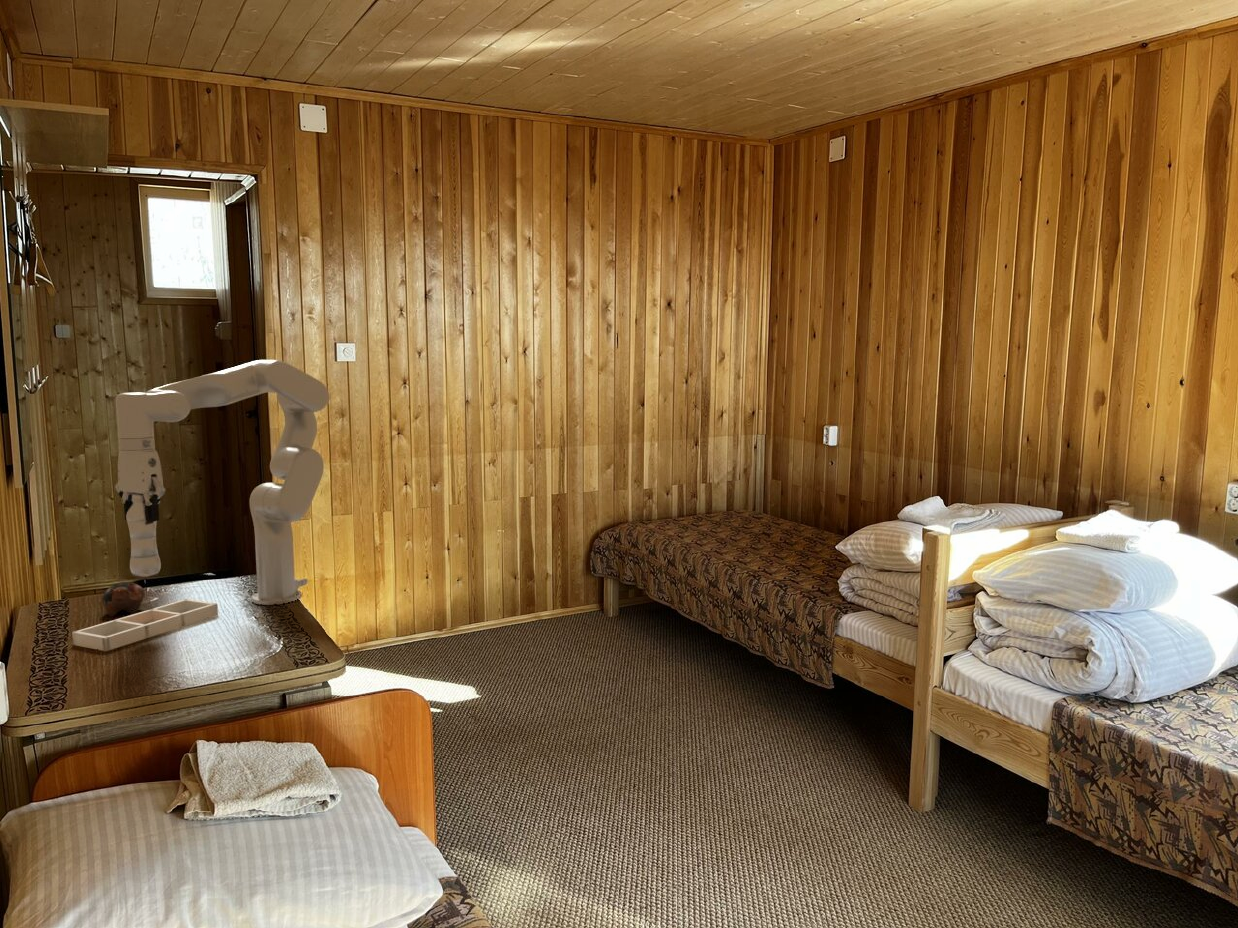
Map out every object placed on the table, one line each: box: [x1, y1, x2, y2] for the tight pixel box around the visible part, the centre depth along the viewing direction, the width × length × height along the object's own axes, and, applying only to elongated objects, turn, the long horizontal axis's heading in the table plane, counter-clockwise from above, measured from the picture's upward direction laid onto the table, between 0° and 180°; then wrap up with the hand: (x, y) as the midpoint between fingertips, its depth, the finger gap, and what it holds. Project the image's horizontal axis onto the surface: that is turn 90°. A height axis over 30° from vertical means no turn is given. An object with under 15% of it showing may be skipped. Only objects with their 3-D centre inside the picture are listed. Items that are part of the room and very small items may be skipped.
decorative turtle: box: [101, 581, 146, 617], centre depth 237 cm, size 10×15×8 cm, turn 27°
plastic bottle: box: [126, 493, 162, 578], centre depth 220 cm, size 6×7×20 cm
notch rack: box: [71, 598, 219, 652], centre depth 222 cm, size 31×11×3 cm, turn 156°
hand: (142, 519), depth 219 cm, fingers closed on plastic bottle, 6 cm apart
